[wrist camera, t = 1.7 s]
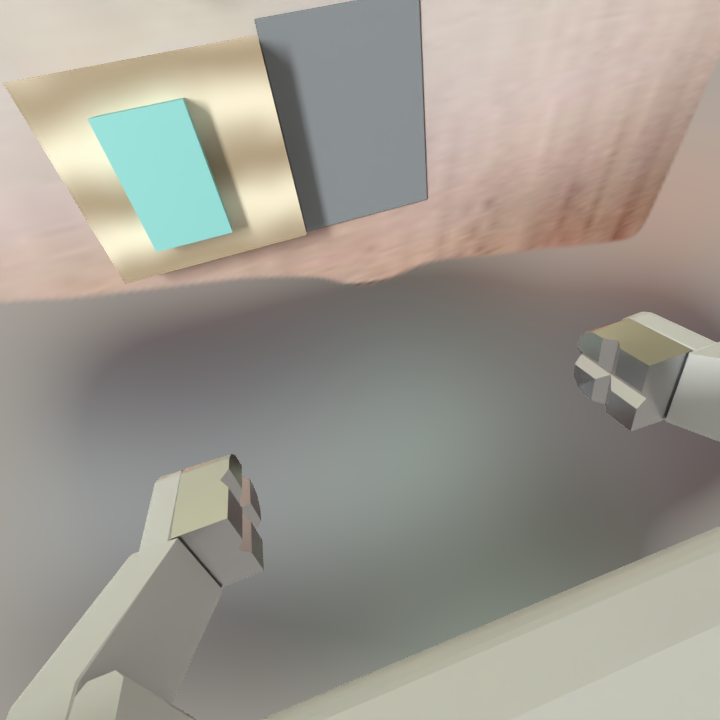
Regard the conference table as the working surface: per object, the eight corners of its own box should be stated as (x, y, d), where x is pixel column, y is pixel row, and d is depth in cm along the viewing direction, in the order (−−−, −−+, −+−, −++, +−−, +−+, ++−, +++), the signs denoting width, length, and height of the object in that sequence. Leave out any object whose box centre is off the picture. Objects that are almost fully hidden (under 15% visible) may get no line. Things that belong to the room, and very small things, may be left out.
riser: (26, 81, 27) (3, 83, 24) (252, 38, 29) (257, 34, 26) (132, 265, 36) (125, 283, 33) (299, 221, 38) (306, 234, 35)
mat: (254, 19, 28) (254, 19, 28) (416, -11, 30) (418, -12, 30) (306, 230, 39) (307, 231, 38) (425, 198, 40) (426, 199, 40)
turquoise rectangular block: (94, 116, 26) (87, 119, 24) (184, 97, 27) (182, 99, 25) (159, 243, 32) (156, 252, 30) (231, 224, 32) (232, 232, 31)
